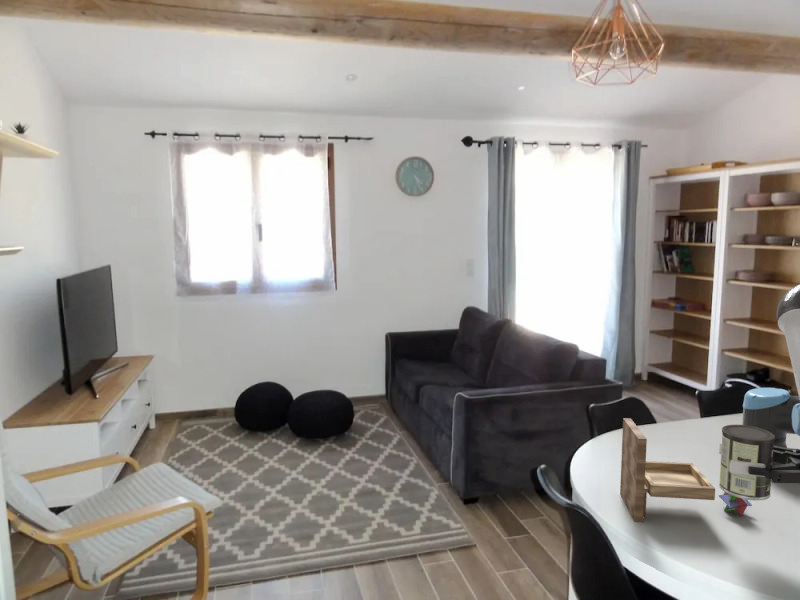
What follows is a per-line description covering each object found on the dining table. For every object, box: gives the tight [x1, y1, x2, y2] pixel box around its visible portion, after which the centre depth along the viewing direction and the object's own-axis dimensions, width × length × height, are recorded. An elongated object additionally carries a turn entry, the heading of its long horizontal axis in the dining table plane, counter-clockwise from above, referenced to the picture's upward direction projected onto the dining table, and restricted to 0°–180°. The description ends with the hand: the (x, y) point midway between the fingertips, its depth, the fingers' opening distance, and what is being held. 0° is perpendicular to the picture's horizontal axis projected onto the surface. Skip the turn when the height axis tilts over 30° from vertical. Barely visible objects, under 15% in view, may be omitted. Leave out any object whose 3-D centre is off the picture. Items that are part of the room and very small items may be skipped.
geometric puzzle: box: [718, 491, 753, 517], centre depth 143 cm, size 7×7×8 cm
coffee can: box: [718, 424, 775, 501], centre depth 127 cm, size 10×10×14 cm
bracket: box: [619, 417, 716, 523], centre depth 143 cm, size 15×18×22 cm
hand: (725, 457), depth 128 cm, fingers closed on coffee can, 10 cm apart
